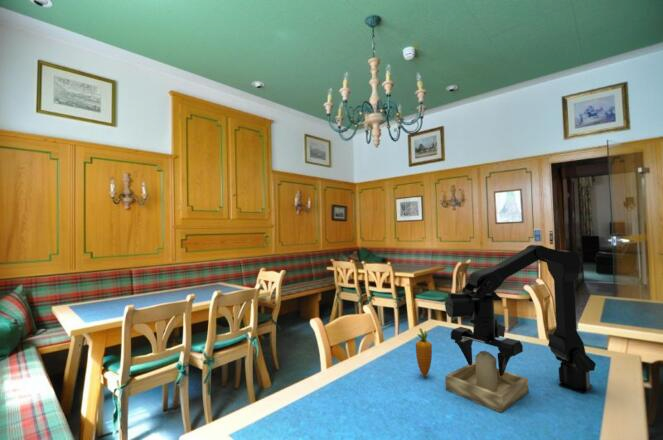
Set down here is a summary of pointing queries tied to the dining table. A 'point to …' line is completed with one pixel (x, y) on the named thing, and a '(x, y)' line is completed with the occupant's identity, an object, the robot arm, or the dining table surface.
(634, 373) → the dining table surface
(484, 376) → the candle
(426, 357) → the carrot
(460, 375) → the box
